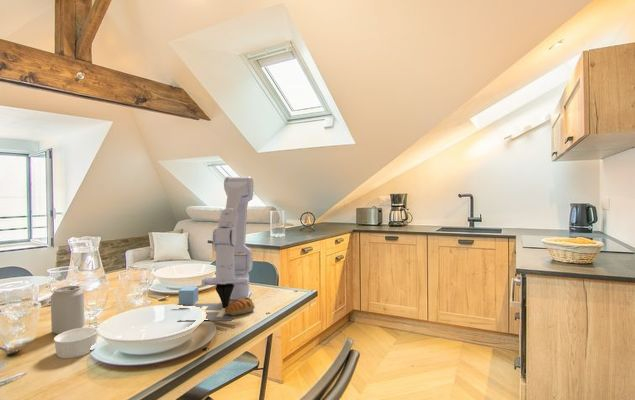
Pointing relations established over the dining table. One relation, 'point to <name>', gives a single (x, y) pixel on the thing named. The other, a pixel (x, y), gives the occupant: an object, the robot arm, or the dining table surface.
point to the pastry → (240, 306)
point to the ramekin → (75, 342)
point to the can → (67, 309)
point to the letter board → (215, 312)
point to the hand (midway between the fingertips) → (225, 307)
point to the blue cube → (188, 295)
